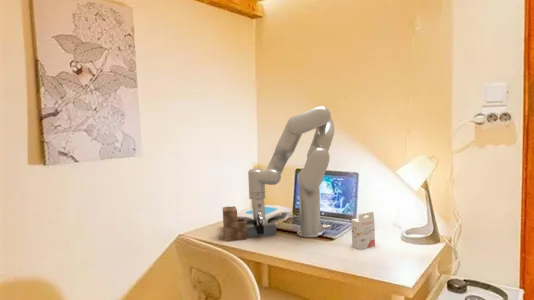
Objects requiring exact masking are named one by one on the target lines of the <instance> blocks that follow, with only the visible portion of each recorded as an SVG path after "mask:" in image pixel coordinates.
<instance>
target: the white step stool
mask: <svg viewBox="0 0 534 300" xmlns="http://www.w3.org/2000/svg"><path fill="white" fill-rule="evenodd" d="M264 206H265V220H264V219H263V224H267V223H275V222H277V221H279V220H283V219H286V218H289V217H290V218H291V217H292V216H293V210H292V209H291V208H288V207H286V206H284V205H276V204H264ZM239 218H244V219H245V222H246V225H254V223H250V222H252V221H253V220H254V217H253V214H252V206H251V207H248V208H245V209H242V210H240V211H237V219H239ZM271 218H272V219H275V220H272V221H270V222H269V219H271ZM290 218H289V219H290Z"/></svg>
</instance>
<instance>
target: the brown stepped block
mask: <svg viewBox="0 0 534 300" xmlns="http://www.w3.org/2000/svg"><path fill="white" fill-rule="evenodd" d="M237 213H238V210H237V207H236V206H224V207H222V223H223V238H224V242H235V241H246V240H248V238H247V227H246V222H245V218H239V219H237Z"/></svg>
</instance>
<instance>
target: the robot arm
mask: <svg viewBox="0 0 534 300" xmlns="http://www.w3.org/2000/svg"><path fill="white" fill-rule="evenodd" d="M331 116H332V115H331V111H330V110H329V108H328V107H327V106H325V105H318V106H314V107H313V108H311V109H308V110H306V111H305V112H302V113H299V114H297V115H293V116H291V117H290V118H289V119H288V120H287V122H286V124H285V126H284V129H283V131H282V133H281V136H280V137H279V139H278V141H277V143H276V146H275V148H274V152H273V154H272V157H271V158H270V161H269V163H268V165H267V167H266V169H263V168H251V169H249V170H248V172H247V174H248V196H249V197H248V198H249V200H251V207H252V214H253V217H254V220H252V221H253V224H254V225H256V224H257V234H264V225H263V219H264V220H265V206H264V205H265V199H266V185H269V186H275V185H277V184H278V183H280V182H281V178H282V176H281V175H282V173H283V170H284V169H285V167H286V164H287V163H288V161H289V160H290V158H291V157H292V155H293V154H294V153H295V150H296V148H297V146H298V144H299V142H300V140H301V137H302V135H303V134H306V133H308V132H310V131H312V130H314V131H315V132H314V135H313V139H312V141H311V143H310V146H309V148H308V150H307V154H306V161H305V164H304V166H303V168H302V169H300V171H299V173H298V176H297V182H298V194H299V195H298V197H299V199H298V200H299V230H300V232H301V233H299V232H296V234H297V236H299V237H301V238H306V239H307V238H310V239H311V238H319V237H318V234H317V233H319V232H322V231H325V230H331V228H332V227H331V224H326V223H325V224H322V223H321V199H320V198H321V196H320V187H321V185H322V182H323V180H324V177H325V174H326V171H327V168H328V166H329V163H330V152H329V150H330V148H331V145H332V142H333V138H334V136H335V135H334V134H335V124H334V121H333V119H332V117H331Z"/></svg>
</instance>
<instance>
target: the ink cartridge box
mask: <svg viewBox="0 0 534 300" xmlns="http://www.w3.org/2000/svg"><path fill="white" fill-rule="evenodd" d="M357 216H358V218H352V219H351V220H350V221H351V245H352V246H351V247H353V248H354V249H357V250H364V249H368V248H371V247H375V246H376V238H375V237H376V235H375V232H376V231H375V228H376V227H375V217H374V212H373V211H370V212H369V211H368V212H364V213H360V214H358V215H357Z"/></svg>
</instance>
